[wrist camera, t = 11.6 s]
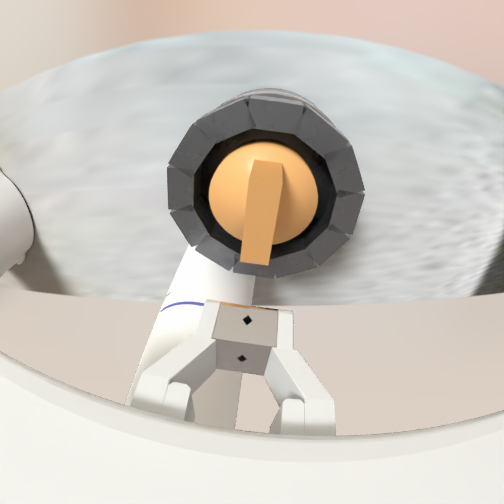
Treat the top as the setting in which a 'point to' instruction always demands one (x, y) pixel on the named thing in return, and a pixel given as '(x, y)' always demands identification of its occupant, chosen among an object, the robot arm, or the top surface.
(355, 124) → the top surface
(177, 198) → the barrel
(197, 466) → the robot arm
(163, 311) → the cylindrical container
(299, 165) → the cap
